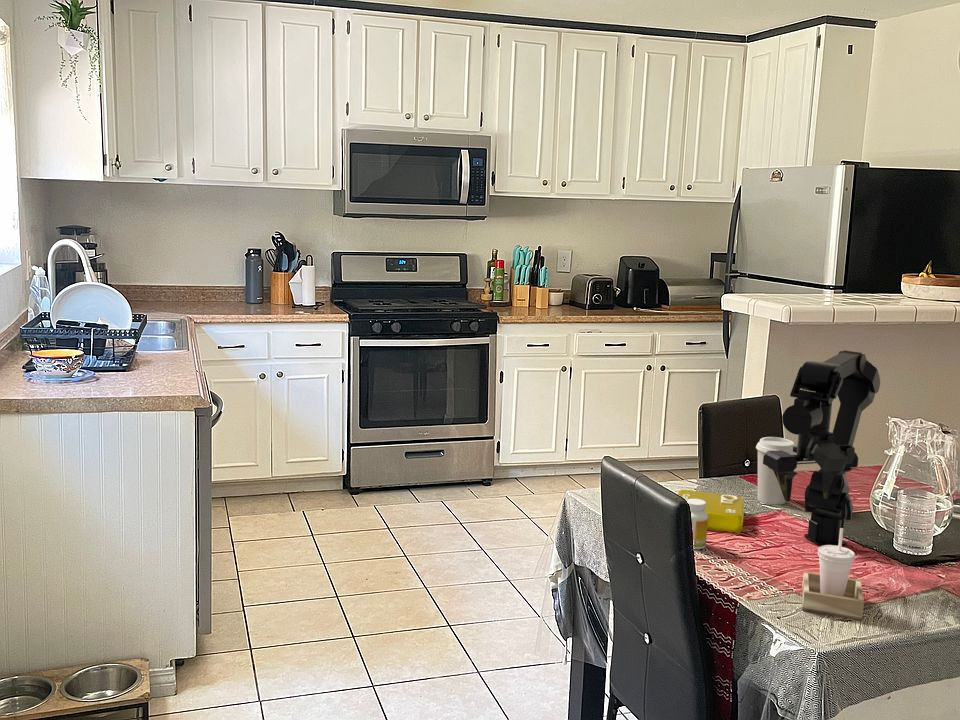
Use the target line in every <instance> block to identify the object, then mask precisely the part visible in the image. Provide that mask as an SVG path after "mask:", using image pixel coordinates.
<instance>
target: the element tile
mask: <svg viewBox="0 0 960 720" xmlns="http://www.w3.org/2000/svg"><path fill="white" fill-rule="evenodd" d="M677 495H679V496H681V497H683V498H684V499H685V500H686V501H687V500H688V499H700V500H703V501H705V502H706V508H705V510H704V511H706V512H707V514H708V526H707V531H708V530H710V531H715V530H717V532H723V531H728V532H727V533H731V532H740V533H741V531H743V528H744V527H743V525H744V511H745V510H744V509H745V508H744V506H745V505H744V504H745V503H744V501H745V500H744V499H743V497H742V496H739V495H734V494H725V493H716V492H707V491H701V490H700V491H698V490H691V489H680V490H678V492H677Z"/></svg>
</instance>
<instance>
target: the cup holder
mask: <svg viewBox="0 0 960 720" xmlns="http://www.w3.org/2000/svg"><path fill="white" fill-rule="evenodd" d="M802 574H803V576H802V585H801V605H802V607H801V609H802V610H801V611H802V612H808V613H816V614H820V615H827V616H833V617H839V618H844V619H845V618H846V619H850V620H851V619H852V620H856V621H863V617H864V616H863V615H864V605H865V599H864V593H863V590H862V581H861V579H856V578H851V577H850V578H849V577H848V581H847V585H846V589H845V593H844V597H841V596H835V595H829V594H822V593H820V573H816V572H811V571H804V570H803V573H802Z"/></svg>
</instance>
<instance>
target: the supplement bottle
mask: <svg viewBox="0 0 960 720" xmlns="http://www.w3.org/2000/svg"><path fill="white" fill-rule="evenodd" d="M687 503H688V504H689V506H690V511H691V518H692V528H693V540H694V548H695V549H694V550H702V549H705V548H706V546H707V545H706V544H707V537H708V536H707V535H708V530H707V526H708V514H707V512H706V511H704V510H705V508H706V502H705V501H703V500H700V499H688V500H687Z"/></svg>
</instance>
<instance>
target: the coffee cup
mask: <svg viewBox="0 0 960 720" xmlns="http://www.w3.org/2000/svg"><path fill="white" fill-rule="evenodd" d="M793 447H795V442H794V441H793V440H791V439H787V438H783V437H777V436H766V437H761V438H760V439H759V441H758V442H757V444H756V446H755V449H756V450H757V500H758V501H759V502H761V503H764V504H765V505H772V506H780V505H785V503H786V501H785V499H784V497H783V494H782V491H781V488H780V485H779V483H778V480H777V478H776V476H775V474H774V472H773V470H772V469H770V468H768V466H766V465H764V464H763V456H764V454H765V453H766V452H767V451H777V450H782V451H784V452H787V453H789V454H791V455H796V454H797V453H795V452H793Z"/></svg>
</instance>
